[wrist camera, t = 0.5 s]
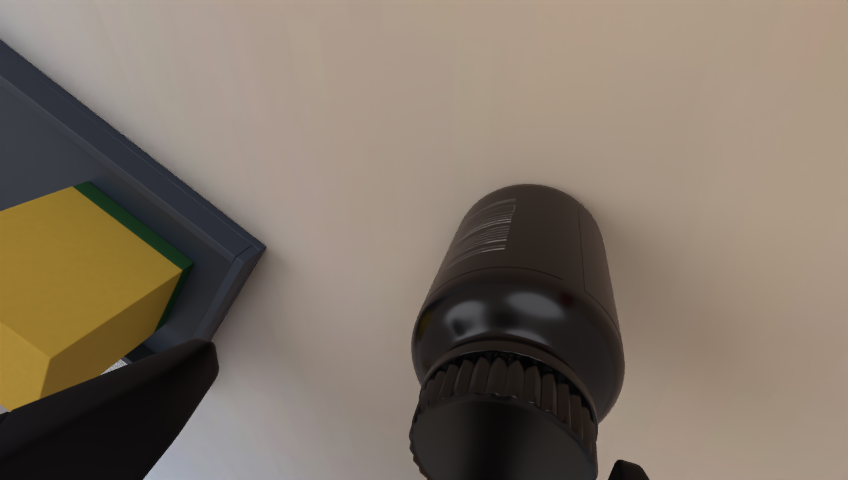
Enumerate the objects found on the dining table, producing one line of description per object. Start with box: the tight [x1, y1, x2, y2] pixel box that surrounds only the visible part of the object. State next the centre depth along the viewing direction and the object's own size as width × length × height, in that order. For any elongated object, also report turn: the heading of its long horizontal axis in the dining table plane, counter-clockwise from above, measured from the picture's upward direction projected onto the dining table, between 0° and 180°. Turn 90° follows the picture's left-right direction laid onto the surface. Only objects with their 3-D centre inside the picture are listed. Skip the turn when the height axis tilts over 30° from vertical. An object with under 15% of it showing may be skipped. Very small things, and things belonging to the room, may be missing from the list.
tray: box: [0, 40, 266, 364], centre depth 28 cm, size 25×15×2 cm, turn 54°
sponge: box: [0, 181, 194, 411], centre depth 25 cm, size 8×7×9 cm
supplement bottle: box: [409, 184, 625, 480], centre depth 16 cm, size 7×7×12 cm
